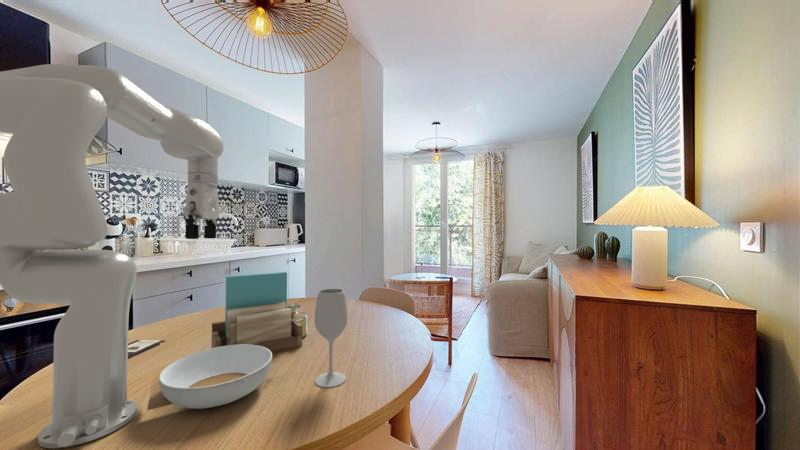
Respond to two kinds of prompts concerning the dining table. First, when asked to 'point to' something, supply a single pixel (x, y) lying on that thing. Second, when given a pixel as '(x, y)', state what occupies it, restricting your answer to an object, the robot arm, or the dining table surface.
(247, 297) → the teal board
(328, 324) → the wineglass
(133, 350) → the chocolate bar
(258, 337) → the plywood offcuts
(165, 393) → the serving bowl
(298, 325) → the walnut rack
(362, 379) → the dining table surface
